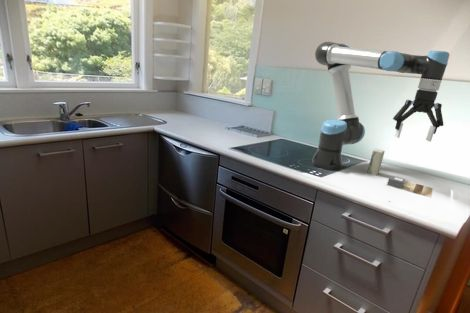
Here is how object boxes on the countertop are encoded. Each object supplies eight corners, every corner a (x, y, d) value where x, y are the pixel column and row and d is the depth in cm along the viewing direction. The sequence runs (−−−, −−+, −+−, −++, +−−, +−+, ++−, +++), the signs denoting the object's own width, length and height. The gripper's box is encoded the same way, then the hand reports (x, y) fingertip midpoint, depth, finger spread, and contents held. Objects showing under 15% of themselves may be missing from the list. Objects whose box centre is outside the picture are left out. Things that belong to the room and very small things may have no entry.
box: (369, 172, 146) (375, 148, 142) (378, 175, 143) (385, 150, 139) (366, 175, 142) (372, 150, 138) (375, 177, 139) (382, 152, 135)
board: (385, 187, 128) (385, 184, 128) (390, 179, 139) (391, 177, 138) (429, 200, 119) (430, 197, 118) (432, 190, 129) (432, 188, 129)
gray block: (387, 185, 128) (388, 178, 127) (389, 182, 132) (390, 175, 131) (402, 189, 124) (404, 182, 123) (403, 186, 128) (405, 179, 127)
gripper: (401, 87, 118) (387, 137, 125) (464, 94, 117) (446, 144, 124) (393, 86, 125) (380, 133, 132) (452, 92, 124) (436, 140, 131)
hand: (412, 138), depth 128 cm, fingers open, 13 cm apart
